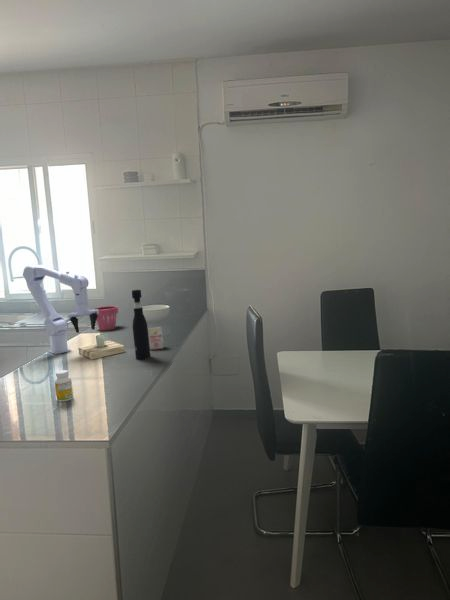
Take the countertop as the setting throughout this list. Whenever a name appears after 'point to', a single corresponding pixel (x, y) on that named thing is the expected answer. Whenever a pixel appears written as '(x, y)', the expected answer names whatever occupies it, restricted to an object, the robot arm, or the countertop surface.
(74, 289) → the robot arm
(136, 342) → the wine bottle
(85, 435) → the countertop surface
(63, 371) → the supplement bottle
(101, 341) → the pin
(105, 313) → the plant pot
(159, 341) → the white pink printed box
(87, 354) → the pocket block
